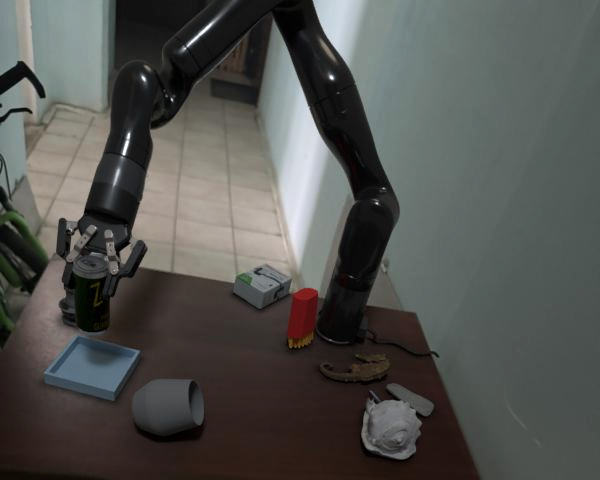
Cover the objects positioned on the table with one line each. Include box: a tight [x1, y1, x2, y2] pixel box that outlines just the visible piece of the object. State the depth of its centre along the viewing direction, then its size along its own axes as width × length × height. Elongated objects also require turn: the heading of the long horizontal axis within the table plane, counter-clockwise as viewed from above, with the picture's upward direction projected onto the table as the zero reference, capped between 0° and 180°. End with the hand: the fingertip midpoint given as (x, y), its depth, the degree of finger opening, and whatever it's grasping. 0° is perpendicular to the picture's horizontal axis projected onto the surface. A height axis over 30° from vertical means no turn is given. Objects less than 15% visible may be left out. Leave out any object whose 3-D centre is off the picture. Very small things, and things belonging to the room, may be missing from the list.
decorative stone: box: [385, 382, 435, 417], centre depth 108 cm, size 11×1×5 cm
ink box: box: [232, 263, 293, 310], centre depth 125 cm, size 9×5×12 cm
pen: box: [368, 389, 382, 404], centre depth 104 cm, size 1×1×14 cm
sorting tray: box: [43, 333, 141, 402], centre depth 93 cm, size 12×12×2 cm
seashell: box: [360, 397, 423, 461], centre depth 95 cm, size 12×14×10 cm
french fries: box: [286, 287, 319, 349], centre depth 112 cm, size 8×4×12 cm, turn 145°
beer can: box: [72, 255, 111, 336], centre depth 84 cm, size 5×5×12 cm
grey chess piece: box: [58, 286, 78, 328], centre depth 99 cm, size 6×6×12 cm
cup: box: [131, 378, 205, 437], centre depth 85 cm, size 10×9×10 cm
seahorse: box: [318, 352, 392, 384], centre depth 111 cm, size 9×16×3 cm, turn 123°
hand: (86, 293), depth 81 cm, fingers closed on beer can, 5 cm apart
